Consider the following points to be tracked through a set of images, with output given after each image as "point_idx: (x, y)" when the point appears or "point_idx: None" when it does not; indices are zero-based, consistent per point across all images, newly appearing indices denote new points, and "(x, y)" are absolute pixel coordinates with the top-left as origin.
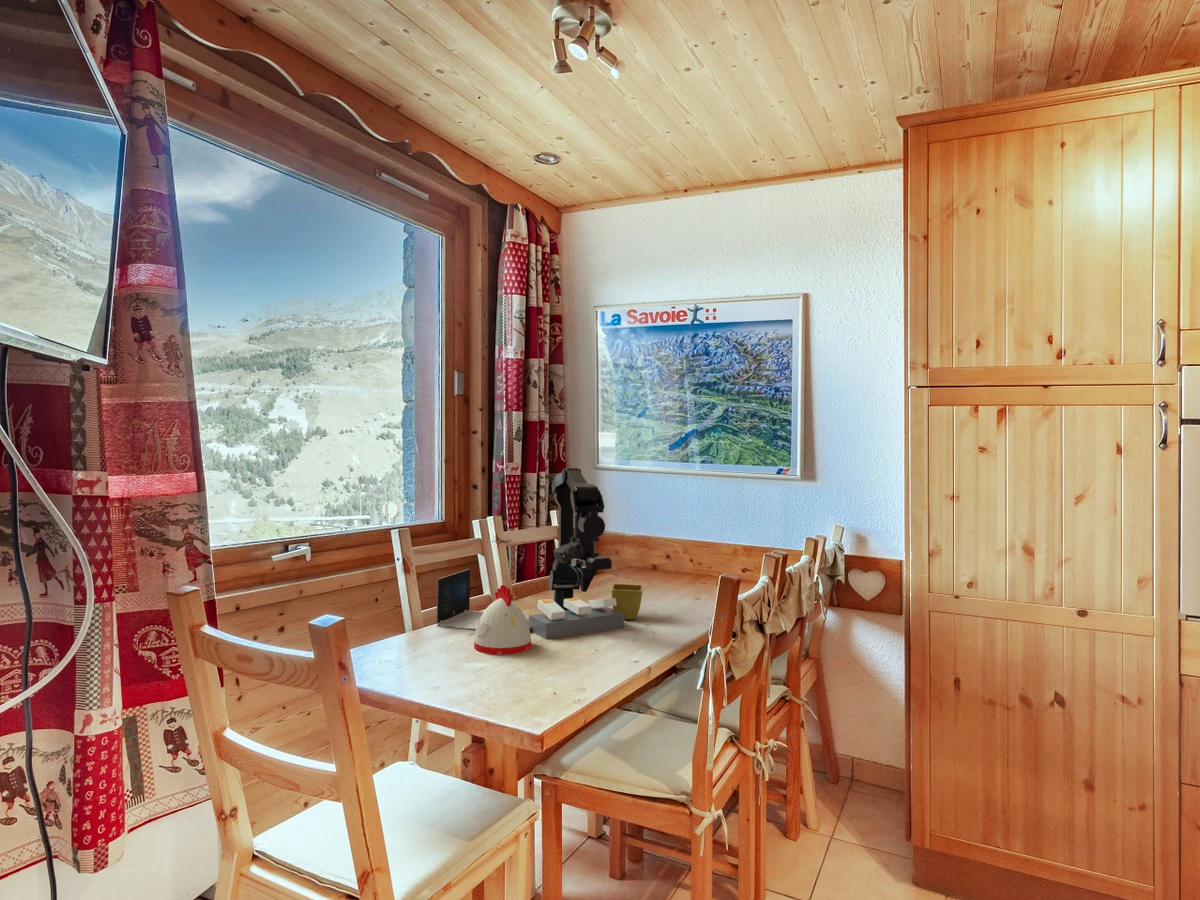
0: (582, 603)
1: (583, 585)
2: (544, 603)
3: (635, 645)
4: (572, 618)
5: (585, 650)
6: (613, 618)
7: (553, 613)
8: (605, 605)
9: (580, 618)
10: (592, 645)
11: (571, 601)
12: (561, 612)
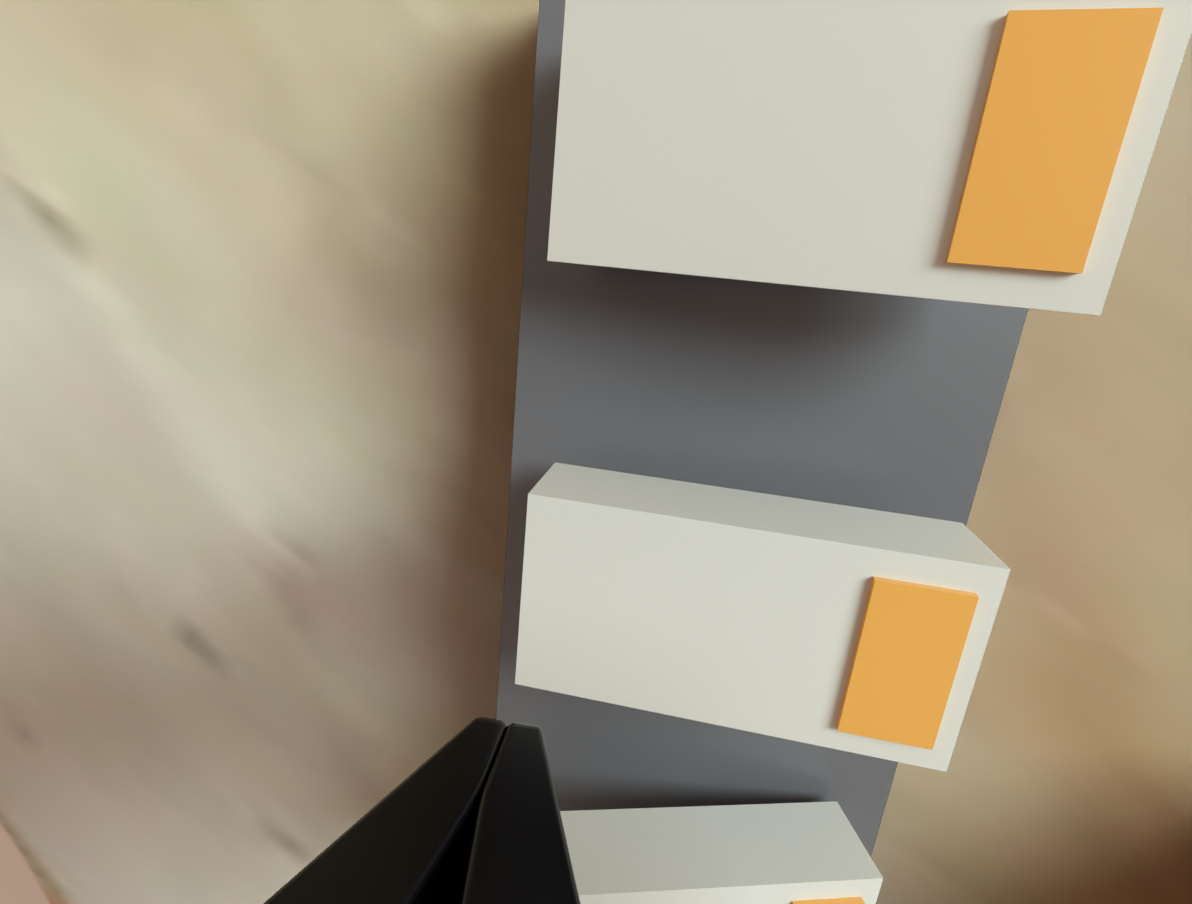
0: (659, 657)
1: (370, 814)
2: (971, 34)
3: (67, 557)
4: (578, 384)
5: (72, 125)
6: None
7: (570, 30)
8: None
9: (529, 462)
10: (186, 279)
11: (827, 588)
12: (555, 190)
